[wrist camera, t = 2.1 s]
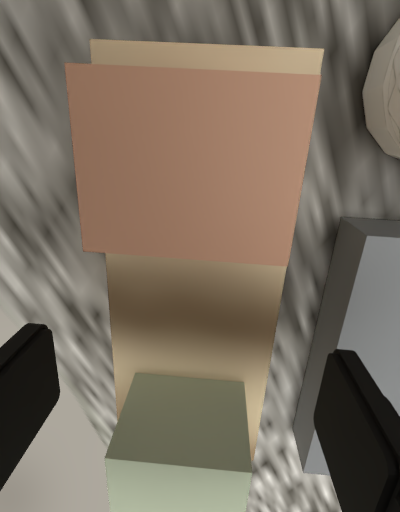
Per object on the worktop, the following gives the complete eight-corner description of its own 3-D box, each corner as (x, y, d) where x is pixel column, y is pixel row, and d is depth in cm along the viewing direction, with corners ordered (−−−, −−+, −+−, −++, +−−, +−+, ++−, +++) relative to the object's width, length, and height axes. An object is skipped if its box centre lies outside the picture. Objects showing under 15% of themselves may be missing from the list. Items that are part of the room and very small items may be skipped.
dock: (341, 216, 16) (367, 235, 13) (505, 227, 15) (569, 249, 12) (292, 428, 21) (303, 472, 18) (411, 439, 21) (440, 486, 18)
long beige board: (133, 69, 14) (89, 38, 9) (289, 76, 14) (324, 48, 9) (142, 376, 21) (119, 447, 16) (246, 386, 20) (253, 460, 16)
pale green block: (135, 372, 14) (104, 458, 10) (244, 382, 14) (252, 473, 10) (137, 433, 16) (111, 527, 12) (235, 443, 15) (240, 541, 12)
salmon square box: (124, 88, 10) (64, 62, 6) (283, 96, 10) (321, 74, 6) (128, 211, 11) (83, 251, 8) (265, 221, 11) (287, 266, 7)
